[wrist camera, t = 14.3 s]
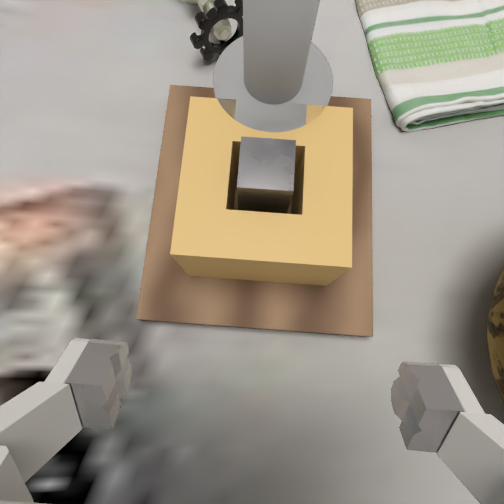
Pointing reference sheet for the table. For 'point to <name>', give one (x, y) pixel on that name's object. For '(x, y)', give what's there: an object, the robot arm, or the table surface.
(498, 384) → the ceramic bowl
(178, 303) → the base board
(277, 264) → the square hole block
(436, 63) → the dish towel
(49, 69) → the table surface
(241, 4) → the valve
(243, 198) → the square peg
